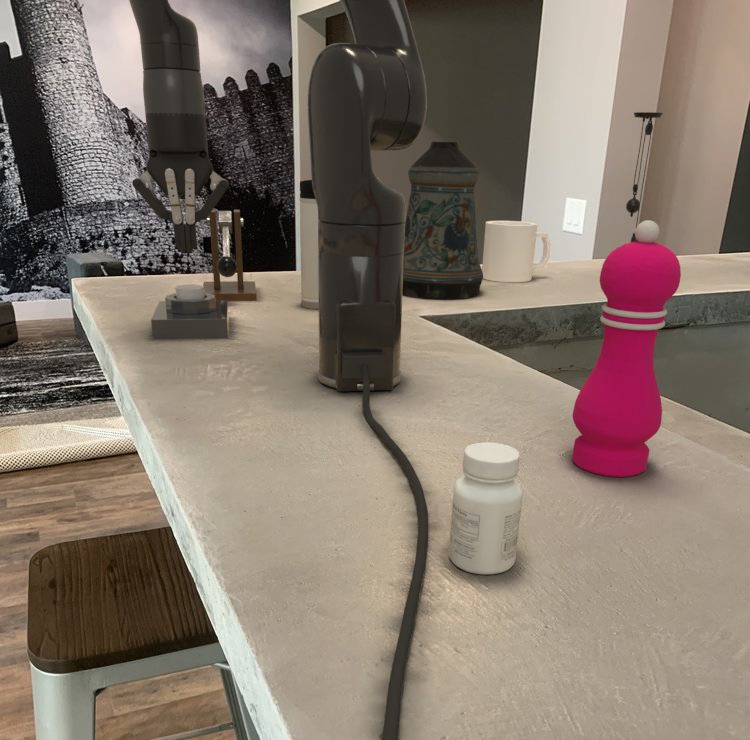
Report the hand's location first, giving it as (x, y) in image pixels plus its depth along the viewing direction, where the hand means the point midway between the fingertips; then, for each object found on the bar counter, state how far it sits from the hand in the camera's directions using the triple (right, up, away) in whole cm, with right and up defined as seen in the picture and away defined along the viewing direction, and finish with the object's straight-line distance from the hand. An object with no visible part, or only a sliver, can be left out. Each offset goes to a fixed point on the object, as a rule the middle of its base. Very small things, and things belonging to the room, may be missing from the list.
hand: (187, 252), depth 105 cm
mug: (+54, +11, +52) cm, 76 cm away
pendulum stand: (0, +2, +29) cm, 29 cm away
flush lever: (+1, +7, +22) cm, 23 cm away
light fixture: (+82, +17, +65) cm, 106 cm away
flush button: (0, -6, +3) cm, 6 cm away
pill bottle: (+33, -38, -54) cm, 74 cm away
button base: (0, -9, +5) cm, 11 cm away
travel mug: (+17, -2, +21) cm, 27 cm away
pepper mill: (+46, -31, -38) cm, 68 cm away
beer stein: (+36, +5, +37) cm, 52 cm away
